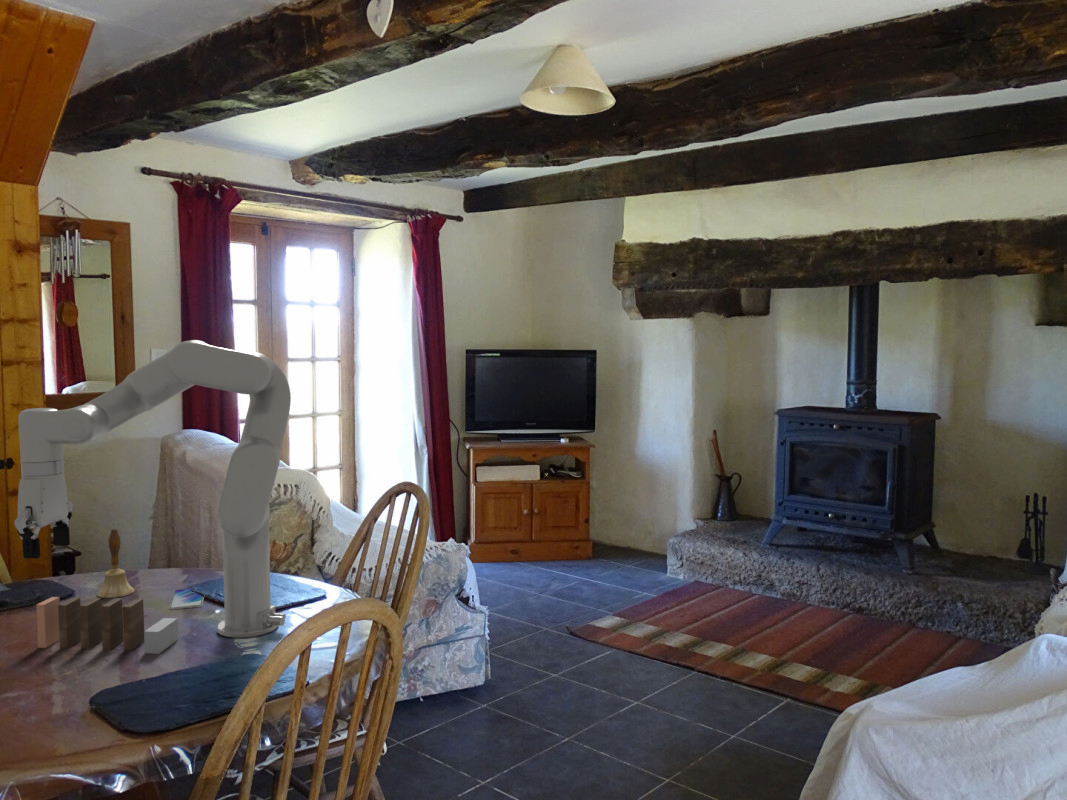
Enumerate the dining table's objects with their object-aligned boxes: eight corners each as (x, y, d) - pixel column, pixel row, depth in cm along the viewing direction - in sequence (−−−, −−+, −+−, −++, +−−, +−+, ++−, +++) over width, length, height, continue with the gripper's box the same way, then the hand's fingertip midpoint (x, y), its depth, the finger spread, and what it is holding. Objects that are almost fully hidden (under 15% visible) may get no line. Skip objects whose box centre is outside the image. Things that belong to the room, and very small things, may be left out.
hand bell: (100, 589, 213) (98, 526, 211) (136, 587, 215) (134, 524, 214) (94, 599, 205) (91, 534, 203) (131, 596, 207) (129, 532, 206)
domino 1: (61, 639, 178) (59, 597, 178) (45, 647, 173) (43, 604, 173) (53, 638, 179) (52, 597, 178) (38, 647, 174) (36, 604, 173)
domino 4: (123, 640, 178) (122, 598, 177) (110, 649, 173) (108, 606, 172) (116, 640, 178) (114, 598, 177) (102, 649, 173) (101, 606, 172)
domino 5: (144, 641, 177) (143, 599, 177) (131, 650, 172) (130, 606, 172) (137, 641, 177) (135, 598, 177) (124, 650, 172) (122, 606, 172)
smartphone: (168, 608, 197) (174, 589, 211) (169, 612, 197) (174, 593, 212) (202, 604, 199) (205, 586, 214) (202, 608, 200) (205, 589, 214)
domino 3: (102, 640, 178) (101, 598, 177) (88, 649, 173) (87, 605, 172) (95, 640, 178) (93, 597, 177) (81, 648, 173) (79, 605, 172)
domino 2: (81, 639, 178) (80, 597, 177) (67, 648, 173) (65, 605, 172) (74, 639, 178) (72, 597, 178) (59, 648, 173) (58, 605, 173)
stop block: (178, 639, 178) (177, 618, 178) (159, 653, 171) (158, 631, 170) (164, 639, 179) (163, 618, 178) (144, 653, 171) (144, 631, 170)
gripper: (51, 462, 182) (55, 541, 183) (-5, 476, 165) (1, 563, 166) (85, 462, 181) (89, 541, 183) (33, 476, 164) (38, 563, 166)
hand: (47, 551), depth 175 cm, fingers open, 9 cm apart
